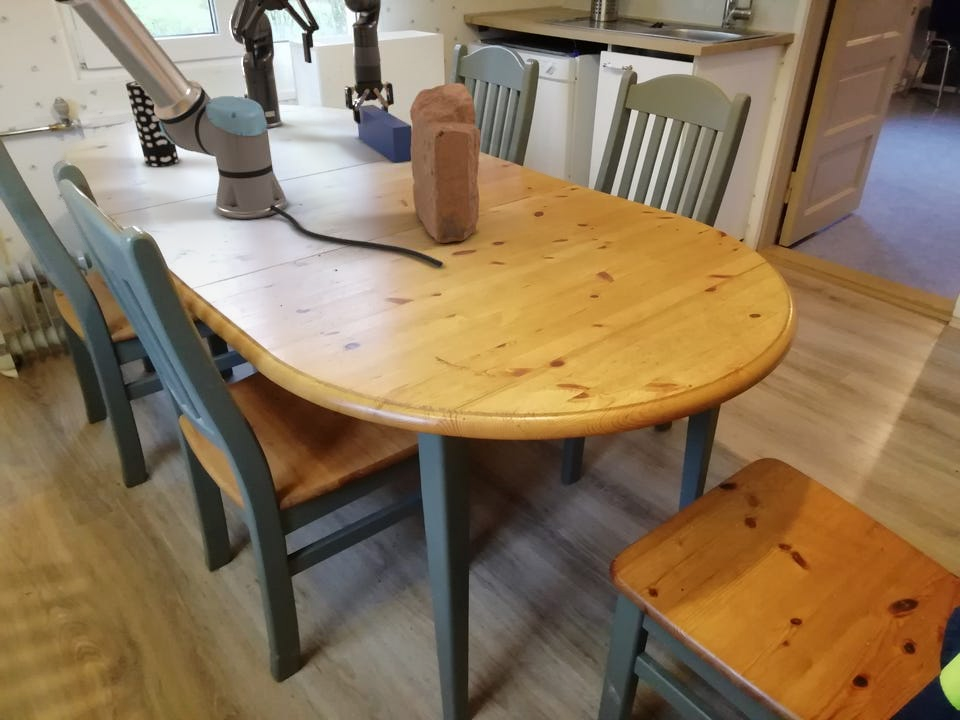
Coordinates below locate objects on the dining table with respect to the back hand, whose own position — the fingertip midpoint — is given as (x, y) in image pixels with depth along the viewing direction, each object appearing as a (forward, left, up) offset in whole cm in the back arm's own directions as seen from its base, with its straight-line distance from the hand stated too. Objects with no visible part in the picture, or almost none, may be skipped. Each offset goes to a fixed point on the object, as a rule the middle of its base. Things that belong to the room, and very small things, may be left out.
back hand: (371, 121), depth 204 cm
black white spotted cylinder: (-39, -44, +5) cm, 59 cm away
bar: (+8, -6, -6) cm, 11 cm away
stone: (+51, -50, -6) cm, 72 cm away
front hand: (-3, -33, +20) cm, 39 cm away
